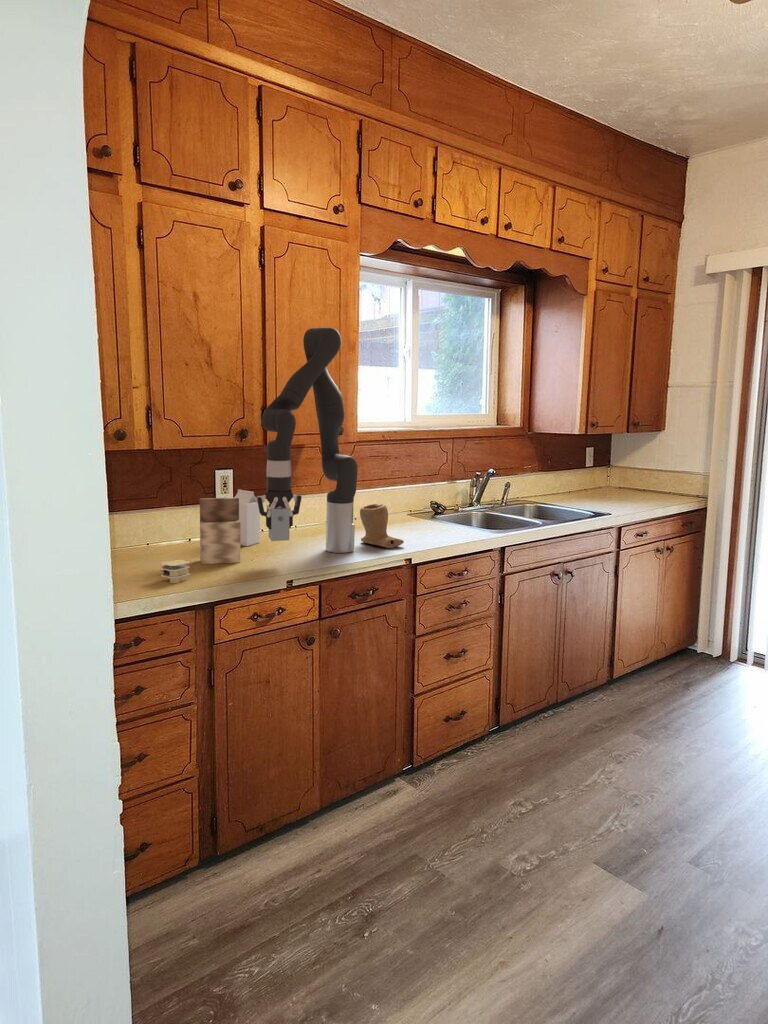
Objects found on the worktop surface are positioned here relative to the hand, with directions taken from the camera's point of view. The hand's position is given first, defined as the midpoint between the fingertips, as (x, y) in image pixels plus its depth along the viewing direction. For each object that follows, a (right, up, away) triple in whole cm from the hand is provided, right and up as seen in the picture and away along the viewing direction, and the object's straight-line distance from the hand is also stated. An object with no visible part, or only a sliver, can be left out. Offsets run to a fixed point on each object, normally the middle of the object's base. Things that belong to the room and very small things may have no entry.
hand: (279, 528), depth 212 cm
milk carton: (-17, -6, +30) cm, 35 cm away
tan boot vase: (+31, -7, +34) cm, 47 cm away
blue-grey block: (-1, -3, +3) cm, 4 cm away
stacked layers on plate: (-27, -15, -17) cm, 36 cm away
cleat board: (-19, -11, +4) cm, 22 cm away
